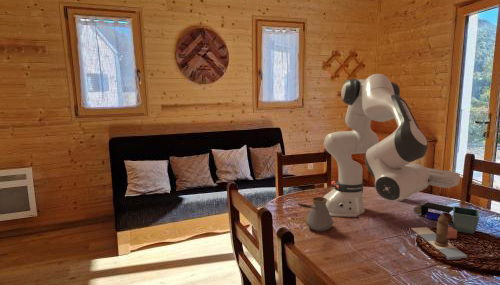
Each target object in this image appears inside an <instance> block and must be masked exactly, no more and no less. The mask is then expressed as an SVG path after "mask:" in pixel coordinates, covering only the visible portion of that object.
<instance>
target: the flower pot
mask: <svg viewBox="0 0 500 285" xmlns="http://www.w3.org/2000/svg"><path fill="white" fill-rule="evenodd" d="M452 207H453V210H452V217H453V221H452V223H453V227H454V229H455V230H457V232H460V233H466V234H472V235H473V234H474V233H475V232H476V230H477V228H478V223H479V219H480V212H479V211H480V210H478V209H474V208H469V207H462V206H454V205H453V206H452Z"/></svg>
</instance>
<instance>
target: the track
mask: <svg viewBox="0 0 500 285" xmlns="http://www.w3.org/2000/svg"><path fill="white" fill-rule="evenodd" d="M410 229H411V230H412V231H414V232H415V233H416V234H417V235H419V236H420V237H421V238H423V239H424V240H425V241H427V242H428V243H429V244H430V245H432V246H433V247H434V248H436V249H437V251H440V252H441V253H442V254H444V255H443V257H444V259H447V260H449V261H451V260H462V259H461V258H467V259H468V255H467V254H465V253H464V252H463V251H462V250H460V249H459V248H457V247H455V246H454V245H453V244H451V243H450V242H448V247H440V246H437V245H435V240H436V233H437V232H434V231H433V230H432V229H430V228H428V227H427V226H425V227H424V226H423V227H411V228H410Z"/></svg>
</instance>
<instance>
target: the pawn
mask: <svg viewBox="0 0 500 285" xmlns="http://www.w3.org/2000/svg"><path fill="white" fill-rule="evenodd" d="M448 227H449V223H448V219H447V217H445V216H440V217H439V218H438V220H437V222H436V232H435V233H436V240H435V245H437V246H440V247H448V243H449V242H448V238H447V237H448Z"/></svg>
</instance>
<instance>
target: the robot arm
mask: <svg viewBox="0 0 500 285" xmlns="http://www.w3.org/2000/svg"><path fill="white" fill-rule="evenodd" d="M343 83H344V84H343V86H342V87H341V90H340V91H341V92H340V95H341V99H342V102H343V103H344V104H345V105H348V106H347V110H346V113H345V118H344V122H345V124H346V126H348V128H349V129H351V130H345V131H344V130H343V131H342V130H341V131H334V132H331V133H328V134H327V135H326V136H325V138H324V140H323V145H324V146H323V147H324V149H325V151H326V152H327V153H328V154H330V155H331V156H332V157H333V159H334V160H335V161H336V163H337V169H338V180H337V181H335V180H332V181H331V185H332V186H334V188H333V189H332V190H331V191H329V192H327V193H326V194H324V196H323V198H326V199H327V202H326V206H327V209H328V211H329V214H330V216H331V217H349V218H350V217H353V218H354V217H357V218H358V217H359V216H360V215H361V214H364V213H365V212H366V209H365V206H364V201H363V193H364V182H363V172H364V171H363V166H362V164H360V163H359V162H357V161H356V160H353V158H352V155H358V154H359V155H361V154H365V155H364V162H365V167H366V168H367V170H368V172H369V173H370V175H371V176H372V177H373V179H374V188H375V190H376V192H377V194H378V195H379V196H380V197H381V198H383V199H385V200H388V201H393V202H394V201H395V202H397V201H396V200H401V199H404V198H405V199H407V198H409V197H411V196H412V195H416V194H417V193H419V192H422V191H424V190H425V189H427V188H428V187H429V186H433V187H439V188H444V189H450V188H453V187H456V186H457V187H458V186H459V185H460V181H461V174H460V173H459V172H454V171H451V170H447V169H445V170H442V169H437V168H430V167H425V166H424V165H423V164H420V163H414V162H415V161H417V160H419V159H422V158H424V157H425V156H426V154H427V151H428V147H429V142H428V140H427V138H426V136H425V134H424V133H423V132H422V130H421V129H420V127H419V125H418V123H417V121H416V119H415V116H414V114H413V112H412V110H411V108H410V107H409V105H408V104H407V102H406V100H404V98H403V97H402V96H401V90H400V86H399V85H398V84H397V83H396V82H393V81H391V80H390V79H389V77H387V75H384V74H382V73H373V74H371V75H369V76H368V77H367V78H365V79H364V78H363V79H360V78H359V79H357V78H349V79H347V80H345V82H343ZM393 119H394V120H395V122H396V125H397V128H396V129H395V130H394V131H393V132H392V133H391V134H389V135H388V136H386V137H385V138H383V139H382V140H379V137H378V134H377V133H376V132H374V130H372V128H371V124H372V121H374V122H381V123H382V122H383V123H385V122H387V121H388V122H389V121H391V120H393Z"/></svg>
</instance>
